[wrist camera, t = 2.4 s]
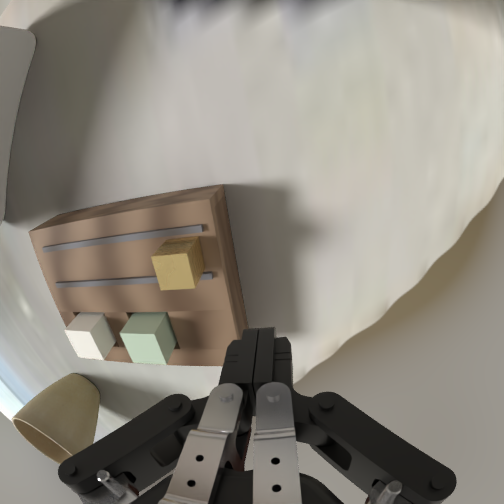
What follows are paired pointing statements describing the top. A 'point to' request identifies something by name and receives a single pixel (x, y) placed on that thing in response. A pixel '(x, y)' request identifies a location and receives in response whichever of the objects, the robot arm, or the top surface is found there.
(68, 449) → the plant pot
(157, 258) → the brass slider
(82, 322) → the off-white button
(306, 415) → the robot arm
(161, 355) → the sage green button
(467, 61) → the top surface
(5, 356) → the top surface
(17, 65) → the rounded white slab
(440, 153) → the top surface
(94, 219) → the switch panel
